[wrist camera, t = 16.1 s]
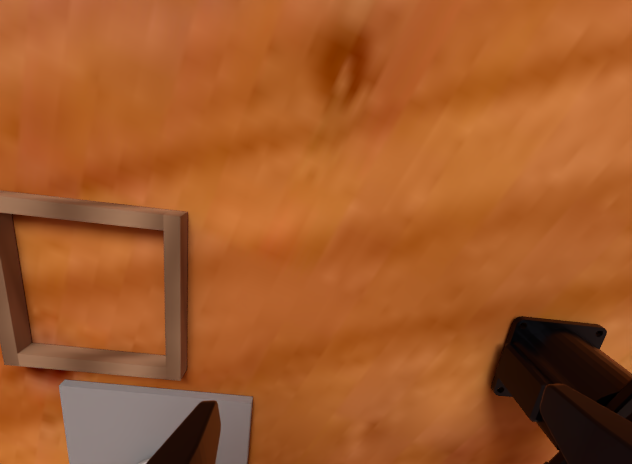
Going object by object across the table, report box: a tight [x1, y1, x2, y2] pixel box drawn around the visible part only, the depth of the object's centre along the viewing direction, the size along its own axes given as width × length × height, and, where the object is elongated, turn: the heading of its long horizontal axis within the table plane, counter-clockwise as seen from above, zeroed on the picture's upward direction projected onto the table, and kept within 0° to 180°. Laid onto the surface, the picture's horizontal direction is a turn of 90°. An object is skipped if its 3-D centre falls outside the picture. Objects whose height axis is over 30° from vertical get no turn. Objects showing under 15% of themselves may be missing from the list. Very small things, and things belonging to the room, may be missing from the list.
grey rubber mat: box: [59, 380, 253, 464], centre depth 26 cm, size 14×14×1 cm
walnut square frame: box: [0, 191, 188, 381], centre depth 21 cm, size 12×12×1 cm
